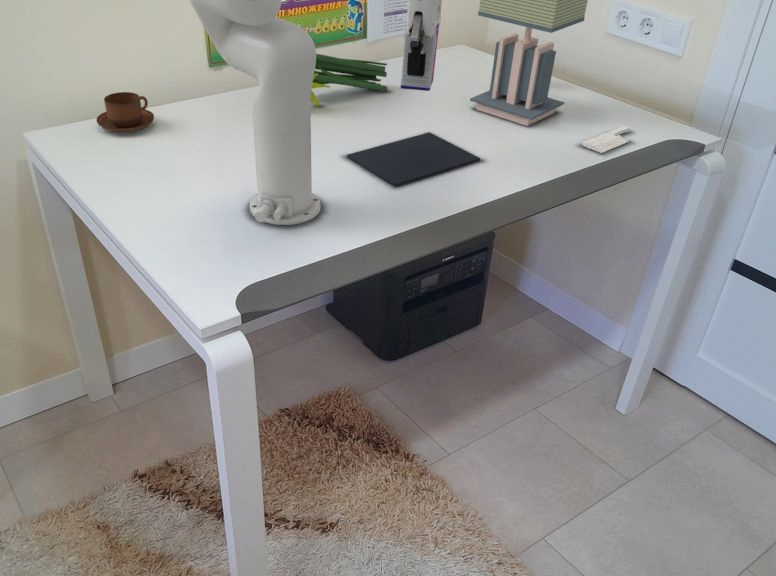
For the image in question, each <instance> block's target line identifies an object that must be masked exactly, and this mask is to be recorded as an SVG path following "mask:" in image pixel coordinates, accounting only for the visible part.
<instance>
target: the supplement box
mask: <svg viewBox="0 0 776 576" xmlns="http://www.w3.org/2000/svg"><path fill="white" fill-rule="evenodd" d="M411 28H412V27H411ZM404 29H405V30H404V42H403V54H402V55H403V56H402V66H401V77H400V78H401V79H400V86H399V87H400V89H402V90H413V91H415V90H416V91H422V92H423V91H425V92H429V91H431V87H432V84H433V83H434V75H435V67H436V58H437V49H438V40H439V31H440V30H439V29H440V27H439V23H438V24H437V26H436V27H435V35H434V36H433V37H432V38H429V36H426V44H425V52H424V53H425V54H426V60H425V73H424V76H422V77H421V76H411V75H407V63H408V52H409V45H410V36H409V35H408V34H407V23H406V24H405V28H404ZM409 31H411V29H410V30H409ZM410 35H411V34H410ZM420 35H424V32H420ZM419 41H421V43H422V39H419ZM421 46H422V45H421Z"/></svg>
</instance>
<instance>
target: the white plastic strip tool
mask: <svg viewBox="0 0 776 576" xmlns="http://www.w3.org/2000/svg"><path fill="white" fill-rule="evenodd" d="M629 132H630V127H628V126H626V125H622V126H620V127H617V128H614V129H611V130H610V131H606V132H604V133H601V134H599V135H597V136H595V137H594V136H593V137H592V138H589V139H586V140H584V141H582V142H581V146H582V147H585V148H587V149H590V150H592V151H595V152H596V153H597V152H598V153H600V154H603V153H606V152H608V151H610V150H613V149H614V148H618V147H620V146H622V145H625V144H627V143H629V142H630V140H627V139H626V138H624V137H622V136H621V135H622V134H625V133H629Z"/></svg>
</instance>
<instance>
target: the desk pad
mask: <svg viewBox="0 0 776 576" xmlns="http://www.w3.org/2000/svg"><path fill="white" fill-rule="evenodd" d="M346 158H347V159H349V160H351V161H352V162H353V163H355V164H357V165H359V166H360V167H362V168H363V169H365V170H367V171H368V172H370V173H372V174H373V175H374V176H376V177H378V178H380V179H381V180H383V181H385V182H387V183H388V184H390V185H392V186H393V187H395V188H397V187H400V186H403V185H407V184H409V183H412V182H415V181H419V180H422V179H426V178H428V177H432V176H435V175H437V174H438V175H439V174H441V173H444V172H448V171H452V170H455V169H458V168H461V167H464V166H467V165H471V164H473V163H477V162H480V161H481V160H480V159H481V157H479V156H476V155H475V154H474V153H471V152H469V151H467V150H465V149H464V148H461V147H459V146H458V145H455V144H453V143H452V142H449V141H447V140H445V138H442V137H440V136H438V135H436V134H434V133H432V132H430V131H429V132H425V133H422V134H418V135H415V136H411V137H407V138H403V139H399V140H396V141H393V142H388V143H384V144H381V145H377V146H373V147H370V148H367V149H363V150H359V151H355V152H352V153H348V154H346Z"/></svg>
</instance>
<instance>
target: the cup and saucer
mask: <svg viewBox="0 0 776 576" xmlns="http://www.w3.org/2000/svg"><path fill="white" fill-rule="evenodd" d="M141 100H143V101H144V105H143V106H142V103H141ZM103 102H104V106H105V111H104V112H102V113H100V114H99V115H98V116H97V117H96V123H97V125H98V126H99V127H100V128H102V129H103V130H106V131H109V132H112V133H113V132H114V133H132V132H136V131H141V130H143V129H145V128H147V127H148V126H150V125H152V124H153V122H154V120H155V115H154V113H153V112H152V111H150V110H148V109H147V107H148V105H149V102H148V99H147V97H145V96H144V95H139V94H137V93H136V92H130V91H121V92H120V91H119V92H114V93H111V94H108V95H106V96H104V98H103Z"/></svg>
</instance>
